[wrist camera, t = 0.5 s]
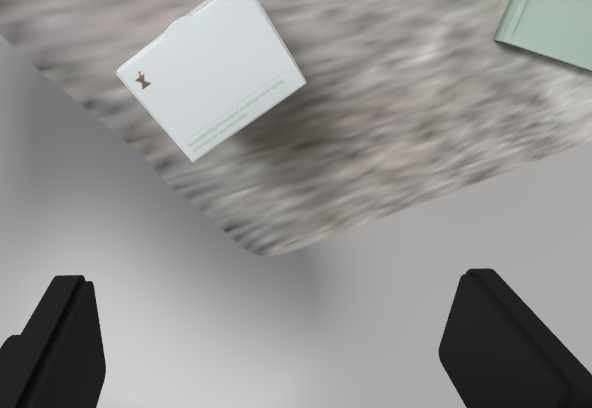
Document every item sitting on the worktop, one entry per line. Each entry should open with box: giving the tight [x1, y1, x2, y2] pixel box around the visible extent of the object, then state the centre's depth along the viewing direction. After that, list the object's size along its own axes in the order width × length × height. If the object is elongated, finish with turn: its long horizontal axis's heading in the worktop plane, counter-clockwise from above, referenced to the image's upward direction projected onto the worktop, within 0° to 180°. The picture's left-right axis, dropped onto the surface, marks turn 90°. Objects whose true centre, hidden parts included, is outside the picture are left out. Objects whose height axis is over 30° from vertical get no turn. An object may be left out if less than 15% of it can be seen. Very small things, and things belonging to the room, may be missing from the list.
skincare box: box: [116, 0, 306, 162], centre depth 30 cm, size 8×7×16 cm
